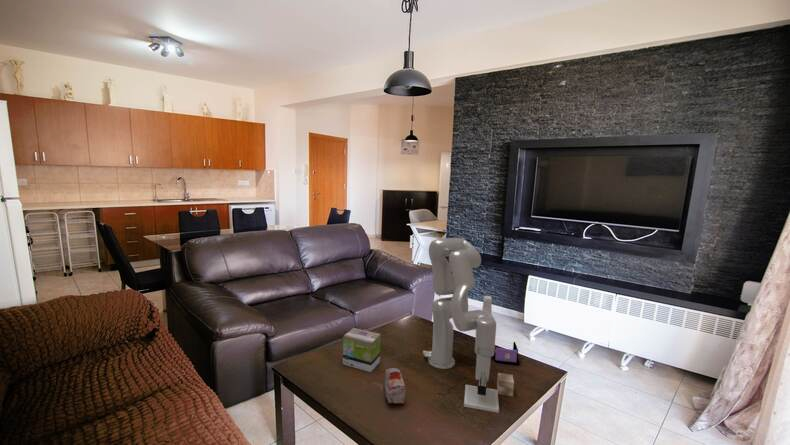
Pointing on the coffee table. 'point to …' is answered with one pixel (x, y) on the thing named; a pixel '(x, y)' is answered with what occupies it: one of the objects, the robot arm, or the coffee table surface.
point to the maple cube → (505, 384)
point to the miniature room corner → (506, 355)
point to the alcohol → (487, 306)
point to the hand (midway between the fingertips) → (481, 391)
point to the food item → (394, 386)
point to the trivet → (481, 399)
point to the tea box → (361, 349)
